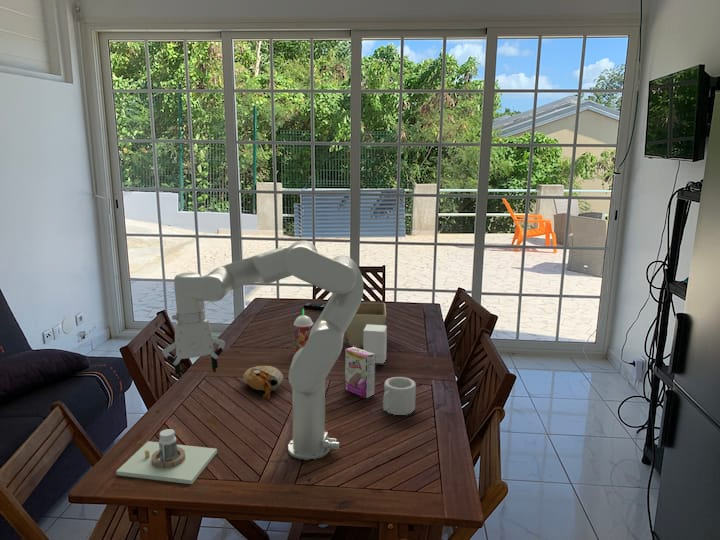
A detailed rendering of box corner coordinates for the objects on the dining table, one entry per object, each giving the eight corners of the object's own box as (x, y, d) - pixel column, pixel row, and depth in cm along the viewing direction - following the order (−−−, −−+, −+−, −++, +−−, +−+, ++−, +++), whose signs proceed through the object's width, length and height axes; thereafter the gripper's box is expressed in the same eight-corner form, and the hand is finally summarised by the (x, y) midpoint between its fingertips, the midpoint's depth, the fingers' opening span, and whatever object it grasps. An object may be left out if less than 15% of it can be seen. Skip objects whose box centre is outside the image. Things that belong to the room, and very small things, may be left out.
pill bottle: (180, 455, 158) (179, 428, 156) (172, 464, 153) (170, 437, 151) (165, 454, 158) (163, 427, 157) (156, 463, 154) (154, 435, 152)
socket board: (217, 452, 162) (216, 442, 161) (191, 484, 146) (191, 473, 146) (148, 444, 166) (147, 435, 165) (116, 475, 150) (115, 464, 149)
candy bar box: (343, 390, 204) (344, 348, 201) (353, 386, 208) (353, 345, 204) (366, 400, 197) (366, 356, 193) (375, 395, 200) (376, 353, 197)
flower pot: (385, 351, 245) (386, 314, 242) (343, 350, 245) (343, 314, 242) (384, 336, 264) (385, 302, 260) (344, 336, 264) (345, 302, 260)
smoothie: (317, 352, 242) (316, 308, 238) (305, 358, 236) (304, 313, 231) (302, 348, 247) (301, 305, 243) (290, 354, 240) (289, 310, 236)
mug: (398, 399, 198) (398, 373, 196) (421, 409, 190) (422, 382, 188) (371, 411, 188) (372, 384, 186) (395, 422, 181) (396, 394, 179)
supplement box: (386, 358, 237) (387, 325, 233) (384, 366, 228) (384, 331, 225) (366, 356, 238) (366, 323, 235) (362, 364, 229) (362, 330, 226)
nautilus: (283, 404, 194) (240, 407, 193) (284, 376, 215) (245, 379, 213) (281, 383, 192) (238, 387, 191) (282, 357, 213) (243, 360, 211)
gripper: (159, 324, 148) (166, 383, 152) (224, 316, 155) (229, 373, 158) (158, 317, 155) (164, 373, 159) (220, 309, 162) (225, 364, 165)
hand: (196, 373), depth 159 cm, fingers open, 9 cm apart
